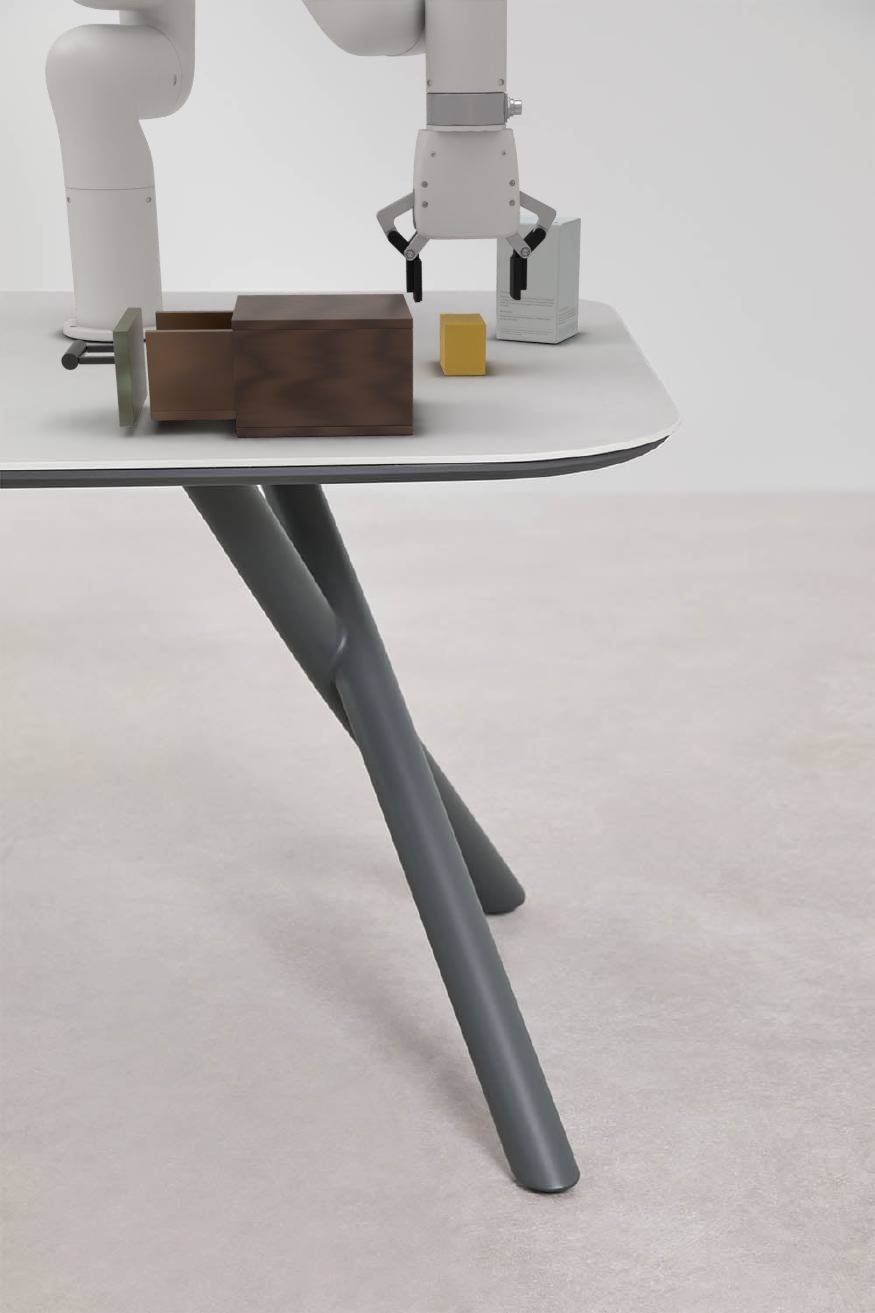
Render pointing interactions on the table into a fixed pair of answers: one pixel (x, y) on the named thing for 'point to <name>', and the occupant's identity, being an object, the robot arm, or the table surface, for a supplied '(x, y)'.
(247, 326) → the cabinet
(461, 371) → the yellow box
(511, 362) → the table surface
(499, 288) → the white packaging box
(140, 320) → the drawer
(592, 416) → the table surface
